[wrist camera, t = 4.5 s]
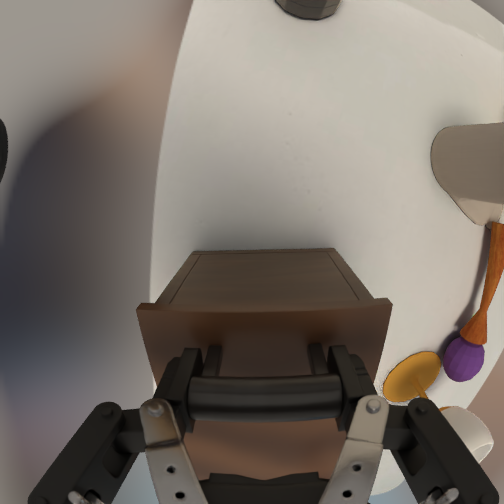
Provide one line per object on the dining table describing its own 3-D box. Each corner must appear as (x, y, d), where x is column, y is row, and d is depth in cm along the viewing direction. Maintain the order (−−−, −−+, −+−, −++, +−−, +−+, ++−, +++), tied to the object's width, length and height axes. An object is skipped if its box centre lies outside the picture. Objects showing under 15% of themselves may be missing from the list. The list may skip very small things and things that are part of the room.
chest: (192, 251, 26) (144, 316, 14) (334, 247, 25) (384, 311, 14) (214, 403, 32) (199, 481, 20) (317, 401, 31) (331, 479, 20)
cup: (370, 384, 30) (409, 488, 15) (426, 339, 28) (492, 431, 13) (399, 408, 32) (434, 494, 17) (448, 369, 30) (499, 448, 15)
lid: (141, 302, 14) (94, 362, 9) (387, 297, 14) (434, 356, 8) (199, 482, 20) (191, 524, 15) (332, 480, 20) (338, 522, 15)
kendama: (531, 232, 19) (479, 383, 24) (496, 222, 25) (454, 361, 30) (513, 227, 18) (454, 395, 23) (473, 216, 24) (428, 370, 29)
